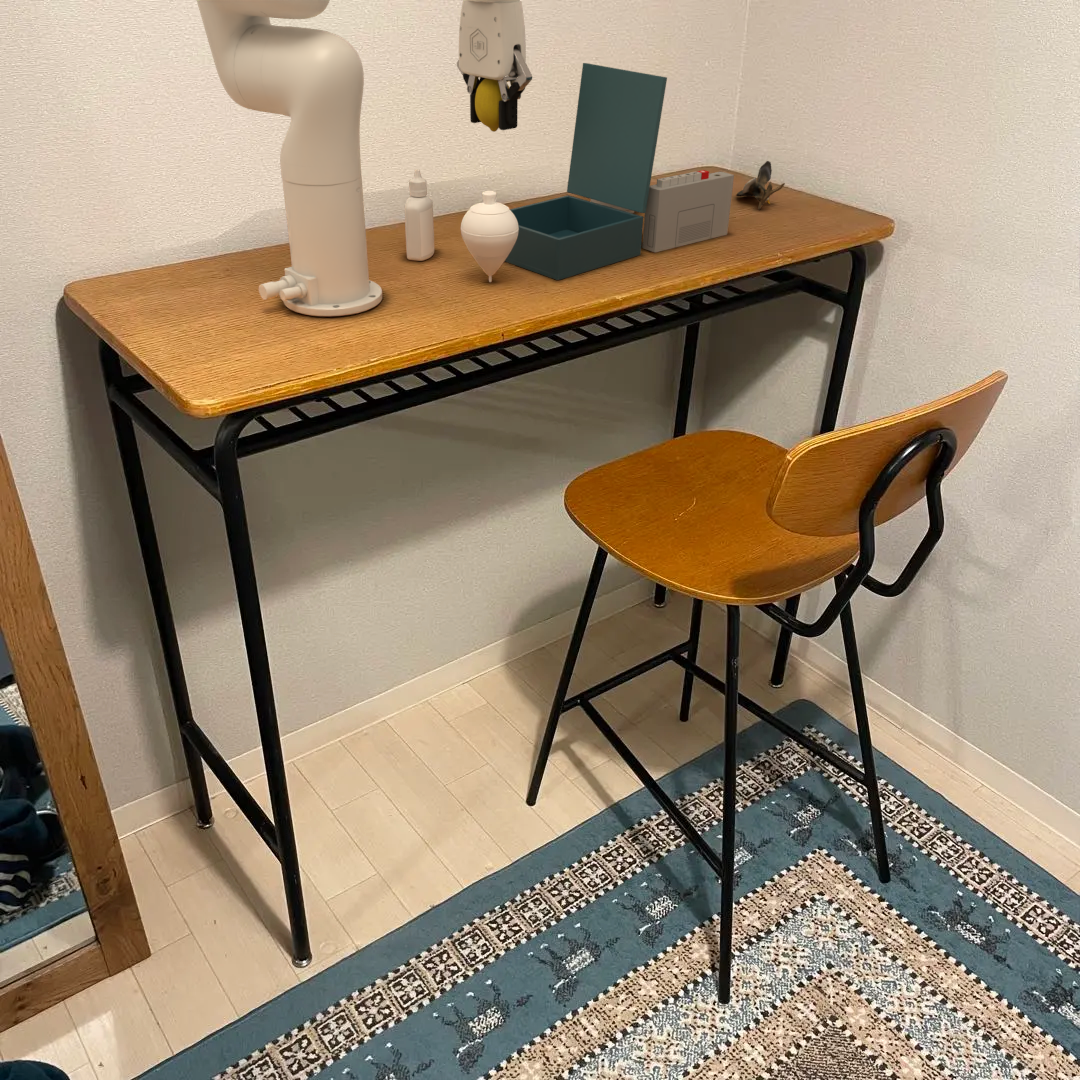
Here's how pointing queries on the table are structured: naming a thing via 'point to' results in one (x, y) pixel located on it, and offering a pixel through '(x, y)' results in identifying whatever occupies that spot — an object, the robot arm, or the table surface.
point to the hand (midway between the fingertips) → (493, 123)
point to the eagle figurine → (760, 186)
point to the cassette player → (687, 209)
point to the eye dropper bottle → (419, 220)
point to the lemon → (488, 103)
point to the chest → (573, 236)
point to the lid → (616, 136)
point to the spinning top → (489, 232)
